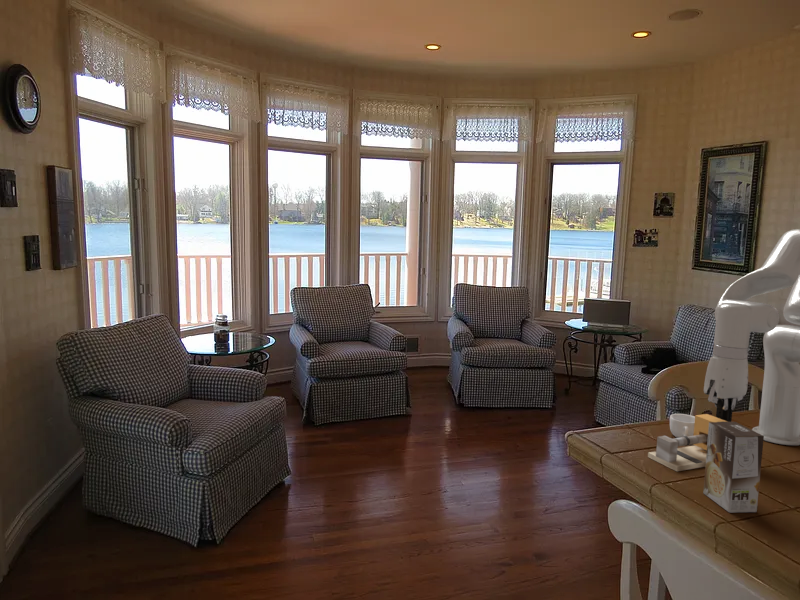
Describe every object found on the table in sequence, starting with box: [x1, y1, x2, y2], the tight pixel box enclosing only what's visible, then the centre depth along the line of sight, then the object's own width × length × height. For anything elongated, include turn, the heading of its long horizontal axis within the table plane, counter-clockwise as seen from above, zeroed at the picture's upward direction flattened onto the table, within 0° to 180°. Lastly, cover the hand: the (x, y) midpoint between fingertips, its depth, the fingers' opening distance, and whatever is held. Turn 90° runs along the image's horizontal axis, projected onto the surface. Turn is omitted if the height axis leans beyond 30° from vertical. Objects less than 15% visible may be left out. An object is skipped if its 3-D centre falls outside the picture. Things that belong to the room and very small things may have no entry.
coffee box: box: [703, 421, 764, 513], centre depth 119 cm, size 9×6×16 cm
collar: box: [692, 413, 728, 450], centre depth 143 cm, size 4×6×8 cm, turn 21°
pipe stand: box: [647, 434, 708, 472], centre depth 142 cm, size 20×9×6 cm, turn 111°
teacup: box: [669, 413, 695, 438], centre depth 157 cm, size 10×8×5 cm
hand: (723, 423), depth 145 cm, fingers closed
